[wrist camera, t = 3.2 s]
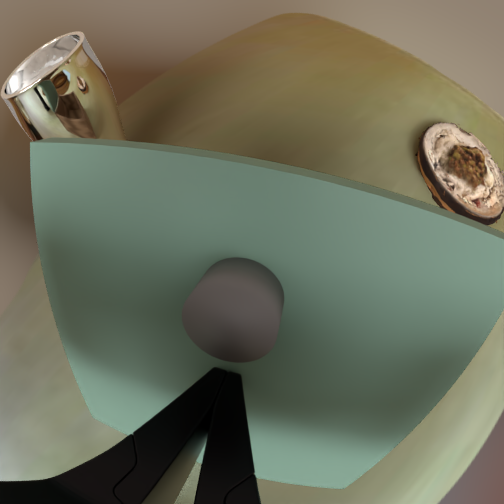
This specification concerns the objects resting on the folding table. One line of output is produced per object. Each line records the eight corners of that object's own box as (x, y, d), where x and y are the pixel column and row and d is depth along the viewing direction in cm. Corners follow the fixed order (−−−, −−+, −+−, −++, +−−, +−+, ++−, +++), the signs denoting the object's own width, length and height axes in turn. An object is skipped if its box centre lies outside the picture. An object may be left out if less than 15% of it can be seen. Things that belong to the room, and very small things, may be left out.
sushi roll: (462, 267, 22) (488, 252, 18) (376, 143, 27) (388, 115, 23) (520, 211, 24) (539, 196, 20) (451, 117, 29) (464, 96, 25)
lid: (344, 473, 12) (342, 507, 10) (101, 405, 13) (82, 432, 11) (512, 237, 6) (555, 273, 4) (52, 137, 7) (0, 150, 5)
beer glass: (111, 146, 27) (47, 36, 13) (164, 158, 26) (108, 23, 12) (76, 202, 25) (-16, 102, 11) (128, 221, 24) (29, 99, 10)
